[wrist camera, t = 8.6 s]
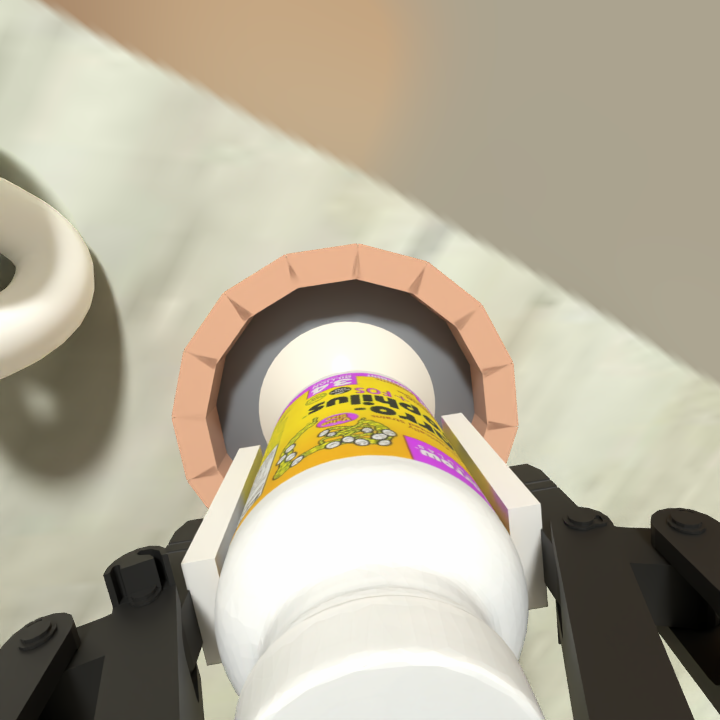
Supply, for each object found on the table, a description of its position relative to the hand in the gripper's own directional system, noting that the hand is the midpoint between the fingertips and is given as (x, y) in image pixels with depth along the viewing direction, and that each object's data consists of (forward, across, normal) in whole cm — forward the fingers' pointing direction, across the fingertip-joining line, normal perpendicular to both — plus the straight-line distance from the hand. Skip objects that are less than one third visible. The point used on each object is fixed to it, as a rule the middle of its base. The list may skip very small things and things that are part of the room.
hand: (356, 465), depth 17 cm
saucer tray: (+8, 0, 0) cm, 8 cm away
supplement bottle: (+2, 0, 0) cm, 2 cm away
